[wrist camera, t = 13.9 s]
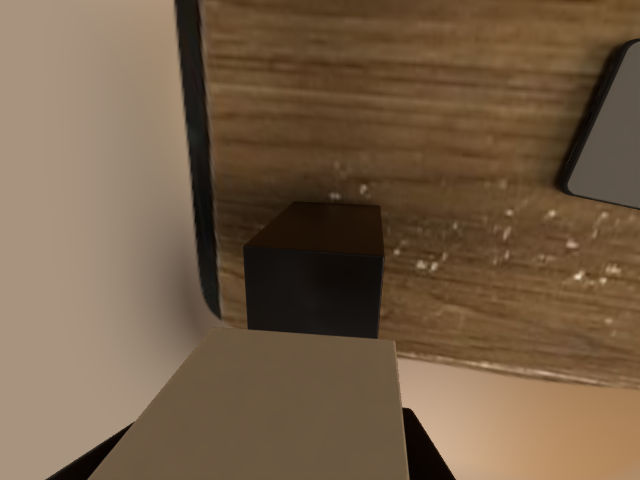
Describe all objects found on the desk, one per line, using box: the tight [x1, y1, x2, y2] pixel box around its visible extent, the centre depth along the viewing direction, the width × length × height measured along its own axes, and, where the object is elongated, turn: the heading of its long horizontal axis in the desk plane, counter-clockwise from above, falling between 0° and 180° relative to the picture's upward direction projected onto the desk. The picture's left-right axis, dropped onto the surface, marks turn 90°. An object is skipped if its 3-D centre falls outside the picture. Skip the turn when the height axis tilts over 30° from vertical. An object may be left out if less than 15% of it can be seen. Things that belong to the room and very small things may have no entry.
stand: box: [243, 201, 385, 339], centre depth 16 cm, size 5×5×8 cm
